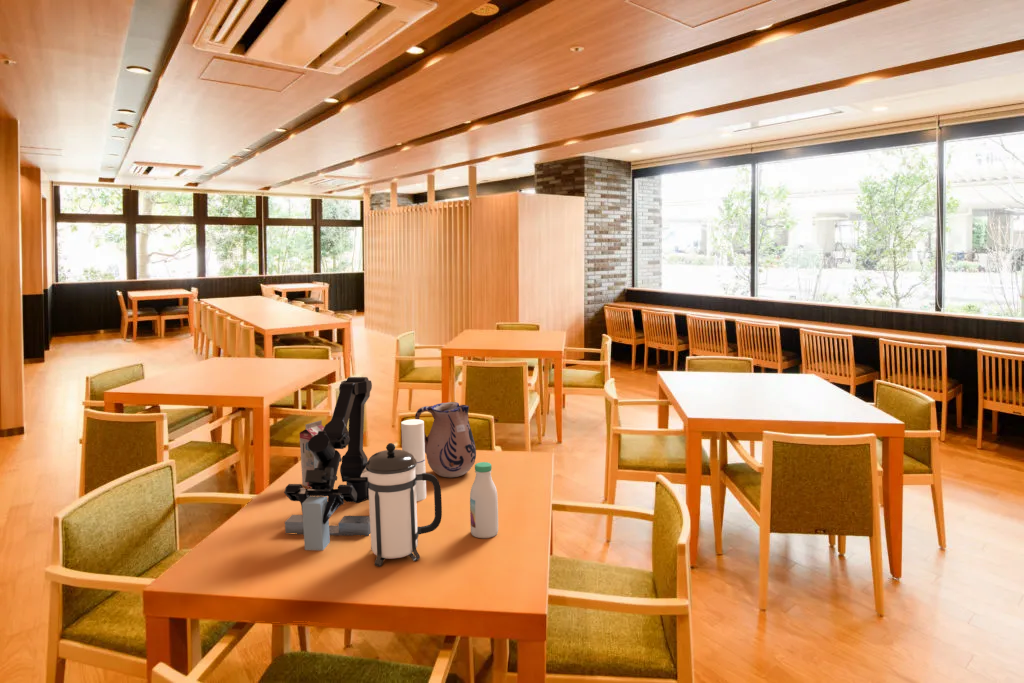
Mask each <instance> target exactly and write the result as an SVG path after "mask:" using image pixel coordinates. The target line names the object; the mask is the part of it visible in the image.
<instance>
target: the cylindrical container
mask: <svg viewBox="0 0 1024 683" xmlns="http://www.w3.org/2000/svg"><path fill="white" fill-rule="evenodd" d="M419 419H420V418H419ZM419 419H415V418H413V419H412V418H411V419H406V420H403V421H401V422H400V423H401V424H400V427H401V429H400V430H401V450H404V451H407V452H409V453H411V454H412V455H413V457H414V459H416V461H417V465H416V467H415V474H422V473H427V472H426V453H425V442H424V432H425V421H424V420H423V419H420V420H419ZM426 499H427V480H424V481H423V480H418V481H417V483H416V502H420V501H424V500H426Z"/></svg>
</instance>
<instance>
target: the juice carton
mask: <svg viewBox="0 0 1024 683" xmlns="http://www.w3.org/2000/svg"><path fill="white" fill-rule="evenodd" d="M322 422H323V421H322V419H321V420H317V421H314V422H310V423H307V424H305V429H304V430H301V431H300V432H299V445H300V446H299V447H300V461H301V462H300V464H301V466H300V467H301V482H302V483H301V484H302V486H303V485H304V486H303V487H305V486H307V487H306V488H309V487H311V486H309V485H308V484H309V482H305V478H306V470H314V469H315V468H317V465H318V460H316V459H315V457H314V456H313V454H312V453H311V451H310V450H309V448H308V442H309V441H310V439H311V438H312V437H313V436H315V435H317V434H318V431H323V429H324V427H325V425H323V423H322ZM311 488H312V487H311ZM311 488H310V489H311Z"/></svg>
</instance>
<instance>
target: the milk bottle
mask: <svg viewBox="0 0 1024 683" xmlns="http://www.w3.org/2000/svg"><path fill="white" fill-rule="evenodd" d="M492 469H493V468H492V464H491V463H490V462H487V461H479V462H477V463H474V472H475V478H474V480H473V483H472V485H471V487H470V488H471V489H470V493H469V494H470V496H469V507H470V508H469V509H470V510H469V511H470V512H469V513H470V514H469V515H470V518H469V519H470V520H469V521H470V533H471V536H473V537H475V538H478V539H489V538H493V537H495V536H497V535H498V533H499V502H498V501H499V500H498V499H499V498H498V490H497V487H496V484H495V482H494V481H493V478H492Z"/></svg>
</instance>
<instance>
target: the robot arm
mask: <svg viewBox="0 0 1024 683" xmlns="http://www.w3.org/2000/svg"><path fill="white" fill-rule="evenodd" d="M372 388H373V383H372V380H369V378H368V376H361V377H360V376H348V377H347V378H346V380H342V381H341V382H340V383H339V388H338V389H339V393H338V397H337V400H336V402H335V406H334V410H333V414H332V417H331V419H330V421H328V422H327V423H326V424H325V425H324V429H323V431H318V434H317V435H315V436H313V437H312V438H311V439H310V441H309V442H308V448H309V450H310V451H311V453H312V454H313V456H314V457H315V459H316V460H318V465H317V468H315V469H314V470H306V478H305V482H309V484H308V485H309V486H311V487H312V488H307V487H305V486H303V484H302V483H288V484H287V485H286V486H285V488H284V494H285V496H286V497H287V498H288V499H289V501H291V502H299V503H300V506H301V508H302V503H303V502H304V501H305V500H306V499H307V498H308V497H309V496H325V497H327V498H328V503H327V507H326V510H325V513H324V517H323V524H325V523H326V522H327V521H328V519H329V520H330V519H331V517H332V516H333V514H334V513H335V511H337V509H338V508H339V507H341V506H342V505H343V506H344V504H345V503H355V504H358V503H361V502H363V501H365V500H369V490H368V487H367V478H368V477H361V474H362V472H363V470H364V469H365V468H366V463H367V462H368V460H369V458H368V456H367V454H366V453H365V451H364V427H365V426H364V425H365V423H364V422H365V405H366V403H367V402H368V400H369V398H370V396H371V391H372ZM347 427H348V428H347ZM346 448H347V451H346V452H345V454H344V455H341V454H340V451H338V450H344V449H346ZM341 456H342V457H341ZM340 463H341V464H340ZM339 464H340V467H339ZM338 469H339V472H340V477H341V483H346V484H339V485H338V486H337V488H334V487H335V484H336V481H338V476H337V475H338ZM301 513H302V514H301V515H302V516H303V512H302V511H301Z"/></svg>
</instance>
